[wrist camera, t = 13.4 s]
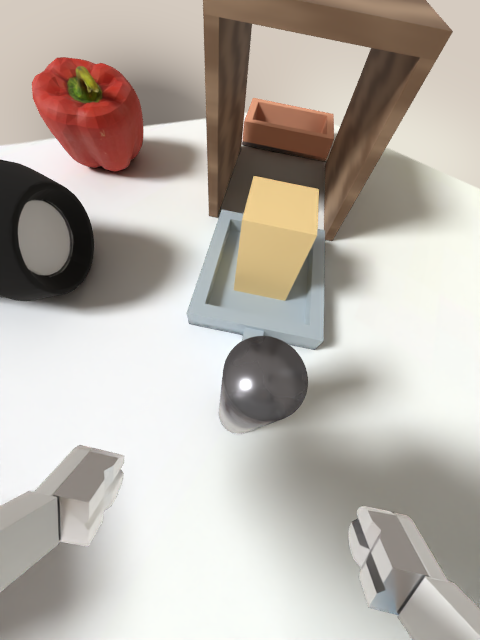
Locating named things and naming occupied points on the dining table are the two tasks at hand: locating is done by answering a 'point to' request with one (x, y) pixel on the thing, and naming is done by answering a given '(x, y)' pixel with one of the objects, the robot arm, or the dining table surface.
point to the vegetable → (90, 112)
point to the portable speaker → (40, 236)
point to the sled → (259, 331)
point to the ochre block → (275, 237)
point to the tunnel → (368, 98)
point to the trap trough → (288, 129)
